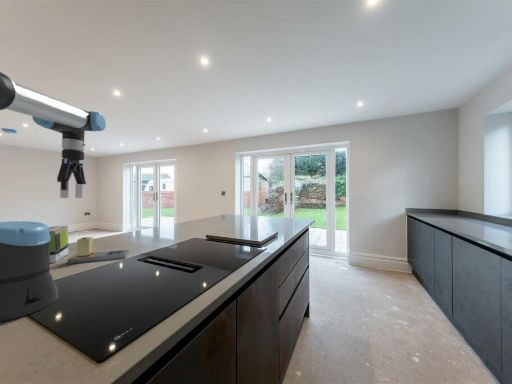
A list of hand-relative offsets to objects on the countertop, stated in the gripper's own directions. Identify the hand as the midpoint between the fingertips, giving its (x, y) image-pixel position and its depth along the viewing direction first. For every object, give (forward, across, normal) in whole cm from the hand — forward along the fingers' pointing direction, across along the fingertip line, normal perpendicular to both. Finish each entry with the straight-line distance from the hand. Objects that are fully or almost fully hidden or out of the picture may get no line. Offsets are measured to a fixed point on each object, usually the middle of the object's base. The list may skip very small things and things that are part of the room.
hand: (72, 198), depth 92 cm
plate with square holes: (+29, +5, -9) cm, 31 cm away
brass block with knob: (+29, +5, -3) cm, 30 cm away
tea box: (+29, +12, +13) cm, 34 cm away
